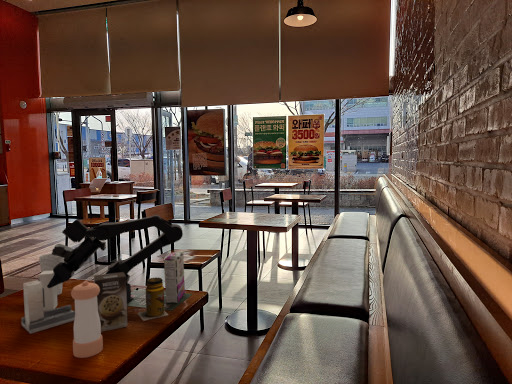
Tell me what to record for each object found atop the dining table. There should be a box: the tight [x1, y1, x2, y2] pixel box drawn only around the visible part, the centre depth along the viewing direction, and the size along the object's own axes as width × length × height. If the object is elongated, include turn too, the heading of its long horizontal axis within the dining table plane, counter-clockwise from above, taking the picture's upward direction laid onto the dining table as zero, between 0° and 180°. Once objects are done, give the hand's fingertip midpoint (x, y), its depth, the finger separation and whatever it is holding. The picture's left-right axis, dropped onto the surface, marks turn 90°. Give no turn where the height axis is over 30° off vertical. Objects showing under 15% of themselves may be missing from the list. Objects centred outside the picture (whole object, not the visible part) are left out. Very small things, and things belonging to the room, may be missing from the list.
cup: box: [38, 253, 64, 296], centre depth 142 cm, size 8×8×16 cm
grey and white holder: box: [21, 279, 75, 335], centre depth 115 cm, size 14×9×14 cm, turn 137°
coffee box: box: [93, 272, 128, 332], centre depth 112 cm, size 9×6×16 cm
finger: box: [37, 270, 58, 312], centre depth 127 cm, size 5×4×13 cm
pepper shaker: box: [70, 280, 104, 359], centre depth 96 cm, size 7×7×19 cm
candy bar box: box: [163, 251, 186, 304], centre depth 135 cm, size 11×5×16 cm, turn 179°
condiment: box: [137, 277, 169, 321], centre depth 120 cm, size 7×8×12 cm
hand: (52, 283), depth 127 cm, fingers open, 9 cm apart
